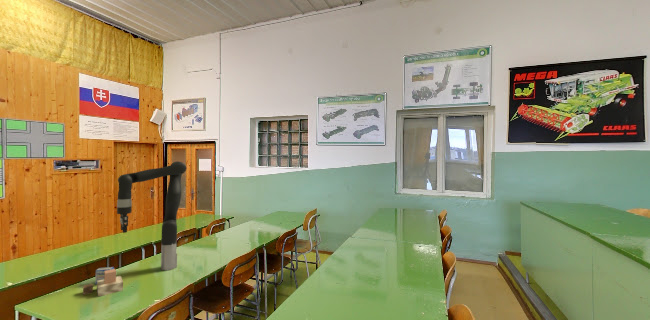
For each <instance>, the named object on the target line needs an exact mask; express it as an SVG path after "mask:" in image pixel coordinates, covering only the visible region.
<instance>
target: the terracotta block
mask: <svg viewBox="0 0 650 320" xmlns="http://www.w3.org/2000/svg"><path fill="white" fill-rule="evenodd" d="M116 277H117V270H116V268H114V269H111V270H106V271H104V283H105V284H108V283H112V282H116Z"/></svg>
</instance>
